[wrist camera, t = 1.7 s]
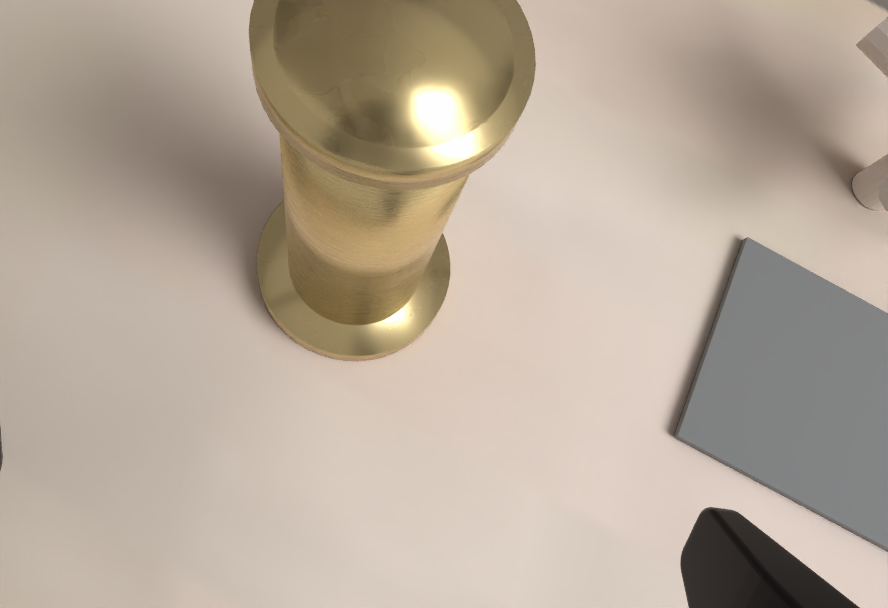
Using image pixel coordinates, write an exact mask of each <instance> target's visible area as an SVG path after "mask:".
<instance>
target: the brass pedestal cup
mask: <svg viewBox="0 0 888 608" xmlns="http://www.w3.org/2000/svg"><path fill="white" fill-rule="evenodd" d="M249 39H250V51H251V60H252V68H253V76H254V81H255V85H256V90H257V93H258V95H259V98H260V101H261V103H262V106H263V108H264V110H265V111H266V113H267V115H268V117H269V119H270V120H271V122H272V123H273V125H274V126H275V127H276V129H277V130H278V131H279V133H280V147H281V162H282V177H283V192H284V201H283V202H282V203H281V204H280V205H279V206H278V207H277V208H276V210H275V211H274V212H273V214H272V215H271V216H270V218H269V220H268V222H267V223H266V225H265V227H264V229H263V232H262V235H261V237H260V241H259V245H258V250H257V275H258V280H259V285H260V290H261V294H262V297H263V300H264V302H265V305H266V307H267V309H268V311H269V313H270V315H271V316H272V318H273V319H274V320H275V322H276V323H277V325H278V326H279V327H280V328H281V329H282V330H283V331H284V332H285V333H286V334H287V335H288V336H289V337H290V338H291V339H293V340H294V341H295V342H296V343H298V344H300V345H301V346H303V347H304V348H306V349H308V350H310V351H312V352H314V353H317V354H319V355H322V356H325V357H328V358H332V359H338V360H344V361H364V360H372V359H377V358H381V357H384V356H387V355H390V354H393V353H395V352H397V351H399V350H401V349H403V348H405V347H406V346H408V345H409V344H410V343H412V342H413V341H415V340H416V339H417V338H418V337H419V336H420V335H421V334H422V333H423V332H424V331H425V330H426V329H427V327H428V326H429V325H430V324H431V322H432V320H433V319H434V317H435V316H436V314H437V312H438V311H439V309H440V307H441V305H442V303H443V301H444V299H445V296H446V293H447V289H448V286H449V279H450V258H449V251H448V247H447V244H446V240H445V238H444V235H443V233H442V232H443V230H444V228H445V226H446V224H447V222H448V219H449V217H450V215H451V213H452V211H453V209H454V206H455V204H456V202H457V200H458V198H459V196H460V194H461V191H462V189H463V187H464V185H465V183H466V181H467V178H468V176H469V174H470V173H472V172H474V171H475V170H477V169H478V168H480V167H482V166H483V165H484V164H485V163H486V162H487V161H489V160H490V159H491V158H492V157H493V156H494V155H495V154H496V153H497V152H498V151H499V150H500V149H501V147H502V146H503V145H504V144H505V142H506V141H507V139H508V137H509V136H510V134H511V133H512V131H513V129H514V127H515V125H516V123H517V121H518V119H519V118H520V116H521V114H522V112H523V110H524V108H525V106H526V103H527V101H528V99H529V96H530V94H531V90H532V86H533V82H534V76H535V66H536V63H535V48H534V43H533V38H532V34H531V31H530V28H529V25H528V22H527V19H526V17H525V15H524V13H523V11H522V9H521V7H520V5H519V4H518V2H517V1H516V0H254V3H253V7H252V10H251V15H250V24H249Z"/></svg>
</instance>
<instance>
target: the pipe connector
mask: <svg viewBox="0 0 888 608" xmlns="http://www.w3.org/2000/svg"><path fill="white" fill-rule="evenodd" d="M856 46H857V47H858V48H859V49H860V50H861V51H862V52H863V53H864V54H865V55H866V56H867V57H868V58H869V59H870V60H871V61H872V62H873V63H874V64H875V65H876V66H877V67H878V68H879V69H880V70H881V71H882V72H883V73H884V74H885V75H886V76H887V77H888V17H887V18H886V19H885V20H884V21H883V22H881V23H880V24H879V25H878V26H877V27H875V28H874V29H873V30H872V31H871V32H870V33H869V34H867V35H866V36H865V37H864V38H863V39H862V40H861V41H859V42H858V43H857V44H856ZM852 189H853V192H854V194H855V196H856V198H857V199H858V201H859V202H860V203H861V204H863V205H864V206H865V207H867V208H869V209H872V210H881V209H885V210H886V211H888V154H887V155H886V156H884V157H883V158H881V159H879V160H878V161H876V162H875V163H873V164H872V165H870V166H869V167H867V168H865V169H864V170H862V171H861V172H859V173H858V174H856V175H855V177H854V178H853V181H852Z"/></svg>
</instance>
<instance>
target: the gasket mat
mask: <svg viewBox="0 0 888 608" xmlns="http://www.w3.org/2000/svg"><path fill="white" fill-rule="evenodd" d="M674 437H675V438H676V439H678V440H680V441H682V442H684V443H686V444H688V445H690V446H691V447H693V448H695V449H697V450H699V451H701V452H703V453H705V454H706V455H708V456H710V457H712V458H714V459H716V460H718V461H719V462H721V463H723V464H725V465H727V466H729V467H731V468H733V469H734V470H736V471H738V472H740V473H742V474H744V475H746V476H748V477H749V478H751V479H753V480H755V481H757V482H759V483H761V484H763V485H764V486H766V487H768V488H770V489H772V490H774V491H776V492H778V493H779V494H781V495H783V496H785V497H787V498H789V499H791V500H793V501H794V502H796V503H798V504H800V505H802V506H804V507H806V508H808V509H809V510H811V511H813V512H815V513H817V514H819V515H821V516H823V517H824V518H826V519H828V520H830V521H832V522H834V523H836V524H837V525H839V526H841V527H843V528H845V529H847V530H849V531H851V532H852V533H854V534H856V535H858V536H860V537H862V538H864V539H866V540H867V541H869V542H871V543H873V544H875V545H877V546H879V547H881V548H882V549H884V550H886V551H888V313H886V312H884V311H882V310H880V309H879V308H877V307H875V306H873V305H871V304H869V303H868V302H866V301H864V300H862V299H860V298H858V297H857V296H855V295H853V294H851V293H849V292H847V291H846V290H844V289H842V288H840V287H838V286H836V285H835V284H833V283H831V282H829V281H827V280H825V279H823V278H822V277H820V276H818V275H816V274H814V273H812V272H811V271H809V270H807V269H805V268H803V267H801V266H800V265H798V264H796V263H794V262H792V261H790V260H789V259H787V258H785V257H783V256H781V255H779V254H777V253H776V252H774V251H772V250H770V249H768V248H766V247H765V246H763V245H761V244H759V243H757V242H755V241H754V240H752V239H750V238H748V237H747V238H745V239H744V240H743V241H742V244H741V247H740V250H739V253H738V256H737V258H736V261H735V264H734V267H733V270H732V273H731V275H730V278H729V281H728V284H727V287H726V290H725V292H724V295H723V298H722V301H721V304H720V307H719V309H718V312H717V315H716V318H715V321H714V324H713V327H712V329H711V332H710V335H709V338H708V341H707V344H706V346H705V349H704V352H703V355H702V358H701V361H700V363H699V366H698V369H697V372H696V375H695V378H694V380H693V383H692V386H691V389H690V392H689V395H688V398H687V400H686V403H685V406H684V409H683V412H682V415H681V417H680V420H679V423H678V426H677V429H676V432H675V434H674Z"/></svg>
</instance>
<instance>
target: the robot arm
mask: <svg viewBox="0 0 888 608" xmlns="http://www.w3.org/2000/svg"><path fill="white" fill-rule="evenodd" d="M2 459H3V455H2V442H1V428H0V470H1V467H2ZM681 573H682V577H683V582H684V587H685V592H686V596H687V601H688V606H689V608H859V607H858V606H857V605H856V604H854V603H853V602H852V601H850V600H849V599H848V598H847V597H845V596H844V595H843V594H842V593H840V592H839V591H838V590H836V589H835V588H834V587H833V586H831V585H830V584H829V583H828V582H826V581H825V580H824V579H822V578H821V577H820V576H819V575H817V574H816V573H815V572H814V571H812V570H811V569H810V568H808V567H807V566H806V565H805V564H803V563H802V562H801V561H800V560H798V559H797V558H796V557H794V556H793V555H792V554H791V553H789V552H788V551H787V550H785V549H784V548H783V547H782V546H780V545H779V544H778V543H777V542H775V541H774V540H773V539H771V538H770V537H769V536H768V535H766V534H765V533H764V532H763V531H761V530H760V529H759V528H757V527H756V526H755V525H754V524H752V523H751V522H750V521H749V520H747V519H746V518H745V517H743V516H742V515H741V514H739V513H738V512H736V511H733V510H728V509H721V508H714V507H709V508H705V509H704V510H703V511H702V512H701V513H700V515H699V517H698V519H697V521H696V523H695V525H694V527H693V529H692V531H691V533H690V536H689V538H688V540H687V542H686V544H685V546H684V548H683V551H682V555H681Z"/></svg>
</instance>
